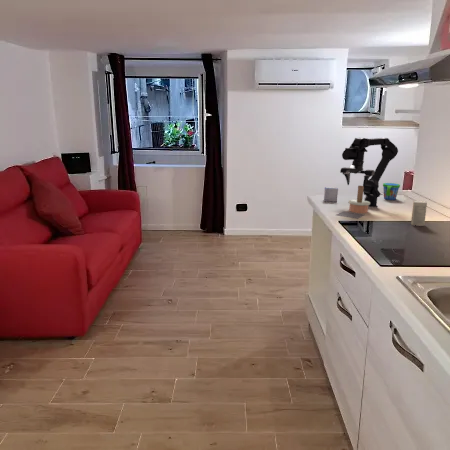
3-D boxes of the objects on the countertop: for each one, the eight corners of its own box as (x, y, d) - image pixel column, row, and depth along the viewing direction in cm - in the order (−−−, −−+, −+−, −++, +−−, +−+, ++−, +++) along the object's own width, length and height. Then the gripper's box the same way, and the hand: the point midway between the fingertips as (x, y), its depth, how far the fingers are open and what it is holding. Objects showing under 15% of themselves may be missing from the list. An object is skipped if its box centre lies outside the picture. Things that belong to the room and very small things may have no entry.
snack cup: (385, 196, 300) (387, 181, 297) (401, 198, 294) (403, 183, 291) (377, 199, 288) (379, 184, 285) (393, 202, 282) (395, 186, 279)
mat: (343, 212, 249) (343, 211, 249) (365, 215, 242) (365, 214, 242) (335, 216, 239) (335, 215, 239) (357, 219, 232) (357, 218, 232)
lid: (366, 201, 256) (368, 184, 253) (373, 205, 244) (375, 188, 242) (346, 200, 256) (347, 184, 253) (351, 205, 244) (353, 187, 242)
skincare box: (423, 224, 226) (426, 201, 223) (424, 226, 222) (427, 203, 219) (410, 223, 228) (413, 200, 225) (410, 225, 224) (413, 201, 221)
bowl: (364, 210, 256) (365, 201, 255) (369, 214, 246) (370, 205, 245) (347, 209, 256) (348, 201, 255) (352, 213, 246) (352, 204, 245)
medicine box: (336, 200, 282) (337, 187, 280) (337, 201, 278) (338, 188, 276) (323, 200, 283) (324, 186, 281) (324, 201, 278) (325, 187, 276)
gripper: (338, 159, 254) (335, 185, 258) (370, 162, 244) (367, 189, 248) (345, 157, 263) (342, 183, 267) (376, 160, 253) (373, 187, 257)
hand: (355, 186), depth 259 cm, fingers open, 9 cm apart
